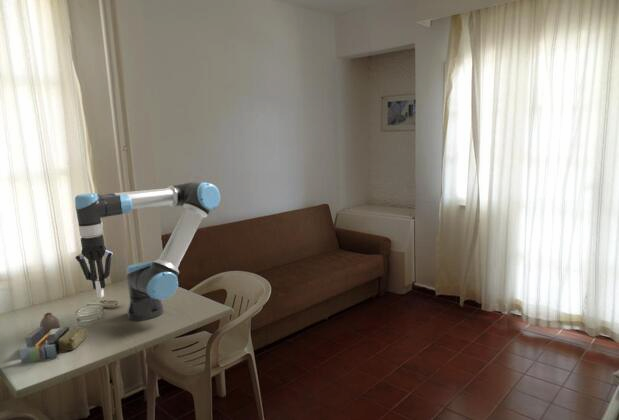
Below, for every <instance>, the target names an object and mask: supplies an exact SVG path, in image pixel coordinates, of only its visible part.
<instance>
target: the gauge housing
mask: <svg viewBox="0 0 619 420" xmlns="http://www.w3.org/2000/svg"><path fill="white" fill-rule="evenodd" d="M44 336H45V335H44V330H43V327H40V326H39V327H36V328H35V329H34V330H33V331H32V332H31V333H30V334H28V335H27V336H26V337H25V342H26V347H20V348H19V350H18V351H19V356H20V362H21V363H30V362H39V361H46V360H56V359H57V358H58V352H56V346H55V344H53V345H47V344H46V343H47V341H45V342H44V343H43V344H42V345H41V346H40V347H39V352H40V359H39V355H38V349H37V348H36V346H35V345H36V344H37V343H38V342H39V341H40V340H41V339H42V338H43V337H44Z"/></svg>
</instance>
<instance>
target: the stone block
mask: <svg viewBox="0 0 619 420" xmlns="http://www.w3.org/2000/svg"><path fill="white" fill-rule="evenodd" d="M84 340H86V329H85V327H83V326H81V327H75V328H73V327H72V328H71V329H69V331H68V332H67V333H66V334H64V335H63V336H62V337H61V338H60V339H59V340H58V341H57V343H58V347H59V351H58V352H62V353H66V351H67V352H68V351H69V350H70V351H73V350H76V349H77V347H78V346H79V345H80V344H81V343H83V341H84Z"/></svg>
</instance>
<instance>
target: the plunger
mask: <svg viewBox="0 0 619 420" xmlns="http://www.w3.org/2000/svg"><path fill="white" fill-rule="evenodd" d="M69 330H70V326H65V327H64V328H63V329H62V330H61V327H60V328H58V329H51V330H50V331H49V332H48V333H47V334H46V335H44V337H43V338H42V339H41V340H40V341H39V342H38V343H37V344H36V345H35V346H36V348H37V349H38V355H39V359H40V352H39V347H40V346H41V345H42V344H43V343H44V342H46V343H47V344H46V345H53V344H55V346H56V352H57V353H58V352H60V351H59V347H58V343H57V341H58V340H59V339H60V338H61V337H62V336H63V335H64V334H66V333H67V332H68V331H69Z"/></svg>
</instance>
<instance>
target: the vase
mask: <svg viewBox="0 0 619 420" xmlns="http://www.w3.org/2000/svg"><path fill="white" fill-rule="evenodd" d="M39 327H43V330H44V336H45V335H46V334H47V333H48V332H49V331H50V330H51V329H58V328H60V329H61V324H60V321H59V318H57V316H55V315H54V314H53V313H52V312H46V313H44V315H43V317H42V319H41V320H40V323H39Z"/></svg>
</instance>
